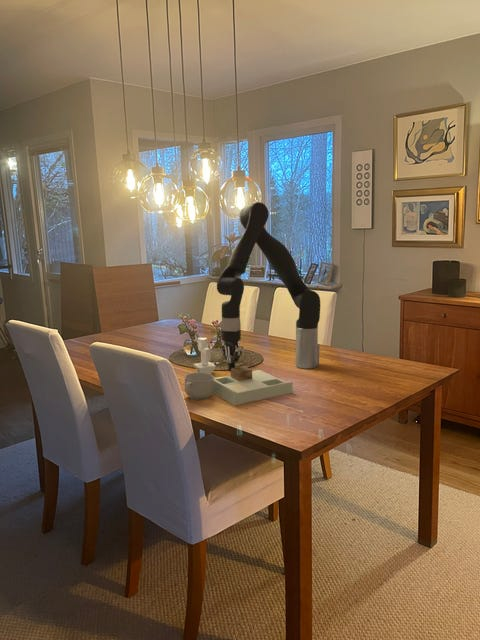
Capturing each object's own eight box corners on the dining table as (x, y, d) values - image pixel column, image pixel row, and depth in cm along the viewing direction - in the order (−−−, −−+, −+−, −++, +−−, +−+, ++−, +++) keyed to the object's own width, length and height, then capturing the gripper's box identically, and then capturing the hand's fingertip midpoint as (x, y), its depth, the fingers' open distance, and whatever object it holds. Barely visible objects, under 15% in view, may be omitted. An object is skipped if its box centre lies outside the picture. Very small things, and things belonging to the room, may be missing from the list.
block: (244, 374, 210) (244, 366, 209) (252, 378, 205) (252, 369, 204) (230, 377, 207) (230, 368, 206) (238, 381, 202) (238, 372, 201)
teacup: (199, 390, 201) (198, 369, 200) (221, 396, 194) (220, 375, 193) (172, 400, 191) (171, 379, 189) (194, 407, 184) (193, 384, 182)
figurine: (200, 377, 217) (199, 341, 214) (192, 371, 225) (191, 336, 222) (217, 375, 220) (216, 339, 217) (208, 369, 228) (207, 335, 225)
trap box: (259, 376, 217) (258, 364, 216) (293, 393, 197) (293, 379, 196) (204, 387, 205) (203, 374, 204) (234, 405, 185) (234, 391, 184)
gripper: (214, 326, 212) (215, 368, 215) (230, 332, 200) (231, 377, 204) (231, 324, 215) (231, 365, 219) (248, 330, 204) (248, 373, 207)
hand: (231, 371), depth 211 cm, fingers closed
